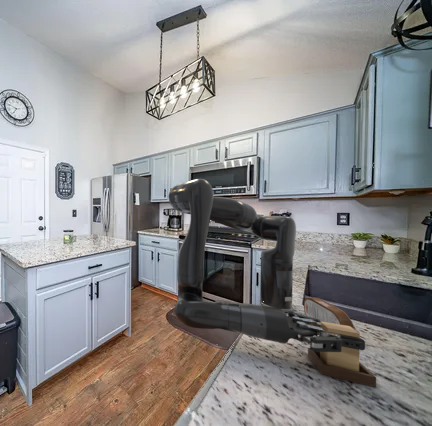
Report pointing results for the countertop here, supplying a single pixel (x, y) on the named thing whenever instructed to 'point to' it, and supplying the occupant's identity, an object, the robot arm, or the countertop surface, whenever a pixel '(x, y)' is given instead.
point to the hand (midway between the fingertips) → (357, 339)
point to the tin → (326, 312)
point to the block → (347, 355)
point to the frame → (343, 371)
